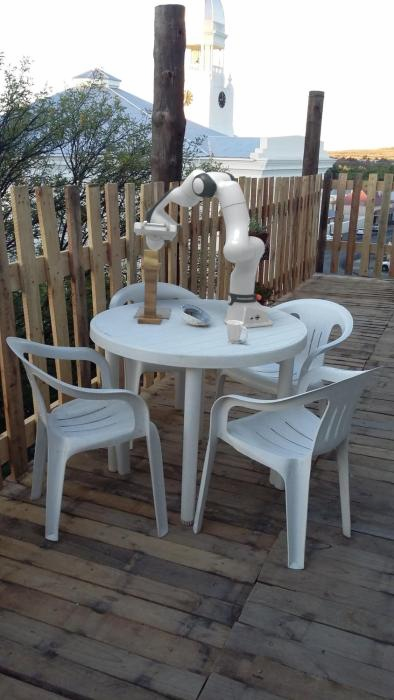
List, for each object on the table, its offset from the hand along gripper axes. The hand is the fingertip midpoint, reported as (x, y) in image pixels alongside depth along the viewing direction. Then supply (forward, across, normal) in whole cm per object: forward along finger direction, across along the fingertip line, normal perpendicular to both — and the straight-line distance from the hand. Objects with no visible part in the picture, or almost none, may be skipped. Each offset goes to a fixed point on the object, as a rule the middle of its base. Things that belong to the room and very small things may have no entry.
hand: (155, 223), depth 263 cm
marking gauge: (+5, 0, +20) cm, 21 cm away
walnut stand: (-2, 0, +46) cm, 46 cm away
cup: (+27, +36, +57) cm, 73 cm away
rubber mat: (-17, +2, +38) cm, 42 cm away
